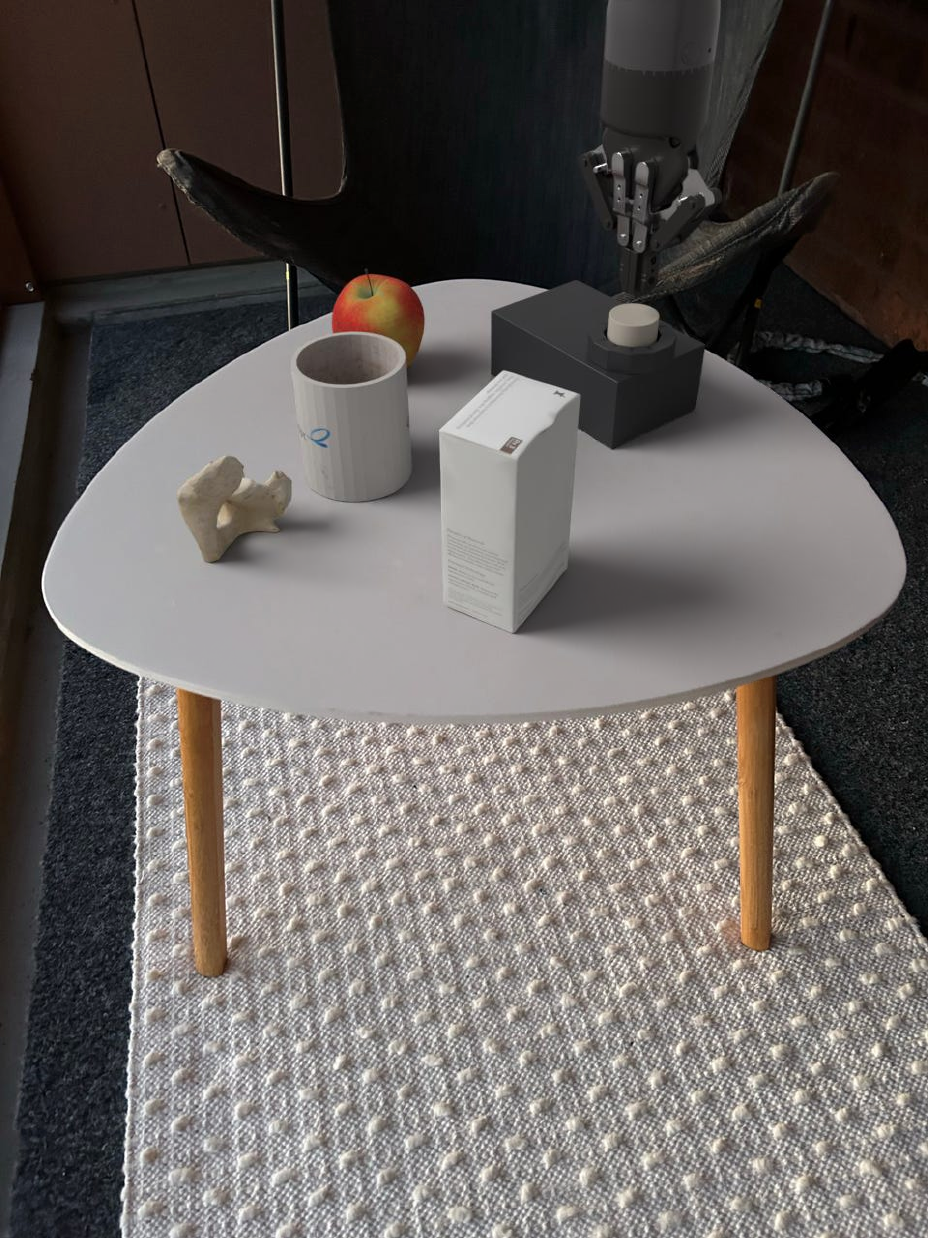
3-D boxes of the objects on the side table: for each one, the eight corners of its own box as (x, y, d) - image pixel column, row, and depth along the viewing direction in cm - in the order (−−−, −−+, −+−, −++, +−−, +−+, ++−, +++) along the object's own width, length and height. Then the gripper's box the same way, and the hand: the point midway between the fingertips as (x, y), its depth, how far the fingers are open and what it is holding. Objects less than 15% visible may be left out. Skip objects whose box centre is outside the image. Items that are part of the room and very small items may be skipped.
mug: (421, 493, 85) (415, 379, 79) (311, 508, 84) (296, 394, 77) (393, 413, 94) (386, 305, 88) (294, 426, 93) (279, 317, 86)
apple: (443, 375, 99) (440, 269, 92) (367, 402, 96) (358, 295, 89) (396, 341, 104) (390, 239, 97) (322, 365, 101) (310, 261, 94)
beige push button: (667, 339, 88) (670, 315, 86) (631, 354, 86) (633, 330, 84) (632, 321, 90) (634, 298, 89) (596, 336, 88) (598, 312, 87)
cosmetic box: (499, 545, 80) (501, 363, 70) (572, 571, 78) (585, 387, 68) (439, 610, 75) (432, 423, 65) (515, 640, 72) (520, 452, 62)
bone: (264, 466, 85) (272, 401, 76) (303, 534, 84) (315, 477, 75) (163, 508, 82) (157, 446, 73) (201, 580, 81) (201, 525, 72)
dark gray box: (701, 412, 94) (714, 326, 88) (616, 452, 89) (625, 364, 84) (572, 341, 104) (577, 260, 98) (490, 374, 99) (490, 291, 94)
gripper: (772, 60, 71) (733, 307, 83) (631, 22, 79) (613, 253, 91) (692, 82, 68) (663, 336, 80) (553, 40, 76) (545, 277, 88)
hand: (636, 291), depth 85 cm, fingers closed
